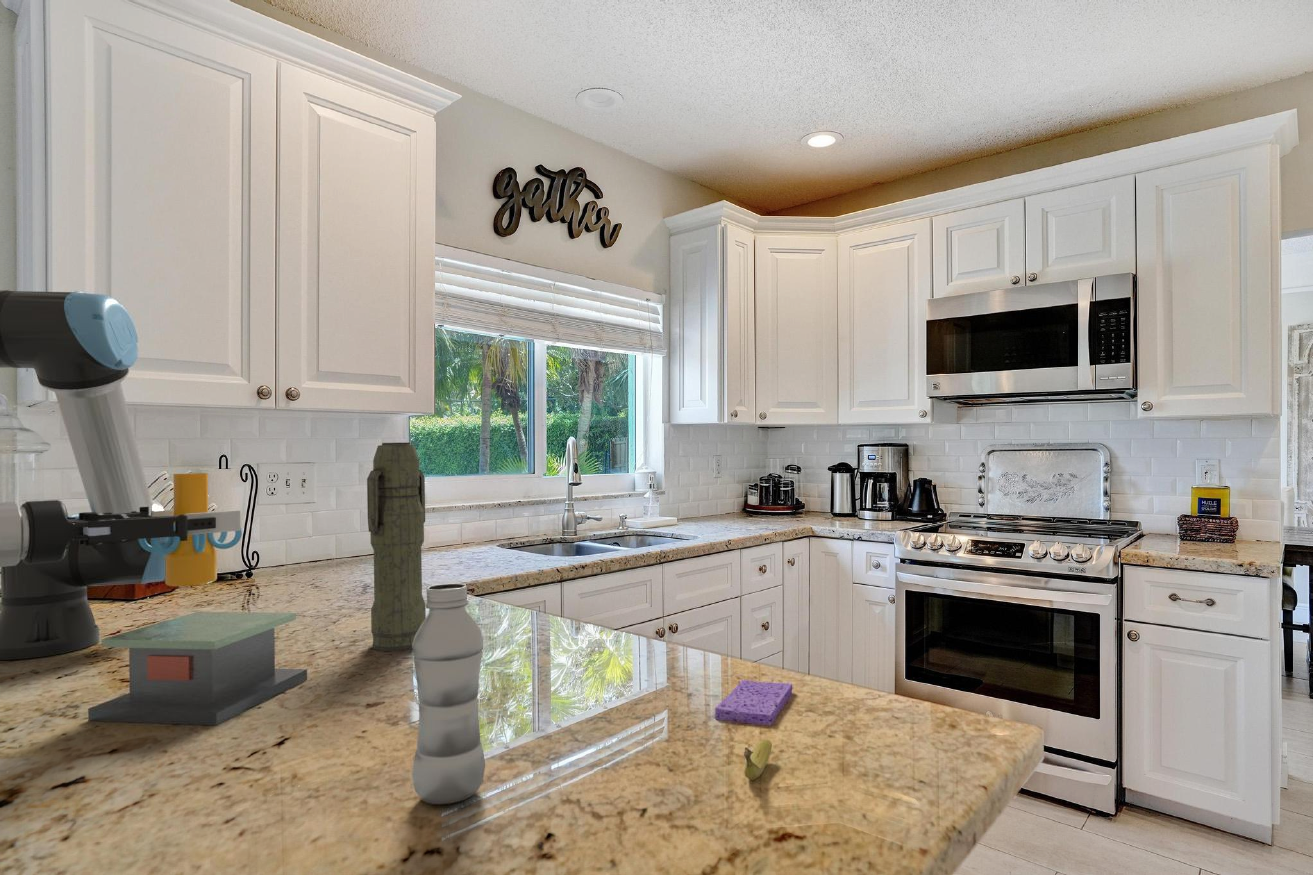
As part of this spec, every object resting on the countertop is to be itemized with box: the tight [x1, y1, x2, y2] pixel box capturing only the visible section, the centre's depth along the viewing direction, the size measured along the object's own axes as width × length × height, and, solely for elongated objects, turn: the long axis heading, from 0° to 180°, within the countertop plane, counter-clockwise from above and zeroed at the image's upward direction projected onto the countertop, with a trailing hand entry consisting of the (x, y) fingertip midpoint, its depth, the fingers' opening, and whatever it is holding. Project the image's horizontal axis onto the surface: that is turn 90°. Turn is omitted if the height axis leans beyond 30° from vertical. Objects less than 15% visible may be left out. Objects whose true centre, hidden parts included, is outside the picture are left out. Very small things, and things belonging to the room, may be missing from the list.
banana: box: [743, 739, 773, 781], centre depth 73 cm, size 8×2×4 cm, turn 160°
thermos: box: [366, 442, 427, 652], centre depth 127 cm, size 9×12×35 cm
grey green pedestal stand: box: [87, 611, 308, 726], centre depth 100 cm, size 18×18×10 cm
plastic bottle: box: [411, 582, 486, 805], centre depth 70 cm, size 6×7×20 cm
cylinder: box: [138, 472, 243, 587], centre depth 100 cm, size 12×10×15 cm
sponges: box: [714, 679, 793, 726], centre depth 93 cm, size 7×13×2 cm, turn 158°
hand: (220, 518), depth 103 cm, fingers closed on cylinder, 12 cm apart
